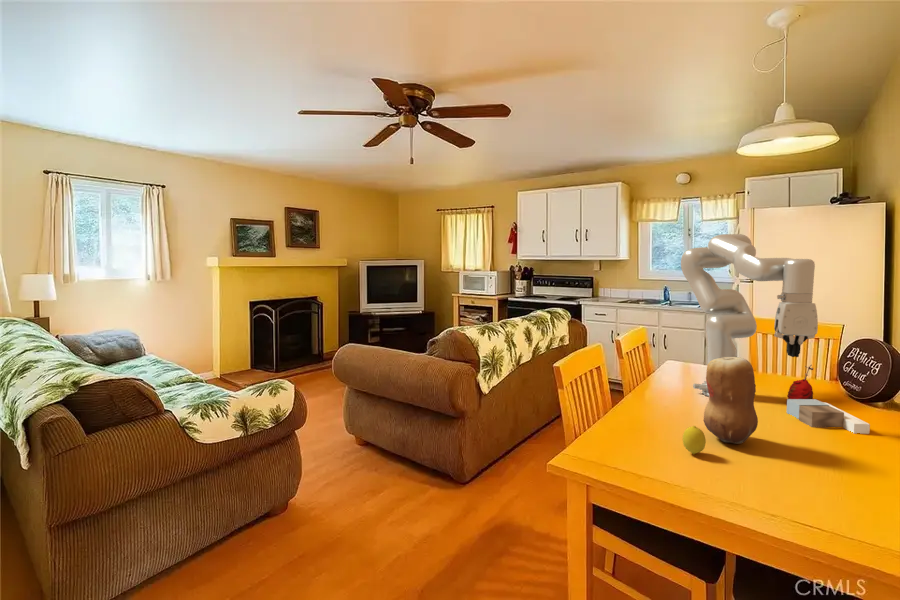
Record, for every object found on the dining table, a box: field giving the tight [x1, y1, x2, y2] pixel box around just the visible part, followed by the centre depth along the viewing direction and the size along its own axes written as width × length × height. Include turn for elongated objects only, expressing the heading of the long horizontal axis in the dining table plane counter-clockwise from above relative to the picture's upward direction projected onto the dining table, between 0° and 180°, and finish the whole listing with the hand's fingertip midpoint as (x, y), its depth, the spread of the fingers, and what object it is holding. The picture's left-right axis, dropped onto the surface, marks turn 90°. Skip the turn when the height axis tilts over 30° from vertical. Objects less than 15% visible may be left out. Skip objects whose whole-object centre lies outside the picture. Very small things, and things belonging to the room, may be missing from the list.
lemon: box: [682, 425, 707, 455], centre depth 120 cm, size 6×6×8 cm
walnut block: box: [798, 406, 845, 428], centre depth 139 cm, size 9×6×5 cm, turn 83°
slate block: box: [786, 398, 829, 420], centre depth 146 cm, size 9×6×5 cm, turn 85°
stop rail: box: [822, 401, 871, 435], centre depth 141 cm, size 4×20×3 cm, turn 169°
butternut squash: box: [702, 357, 759, 445], centre depth 127 cm, size 14×13×25 cm
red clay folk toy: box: [786, 364, 814, 399], centre depth 157 cm, size 8×7×15 cm
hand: (793, 355), depth 139 cm, fingers closed
